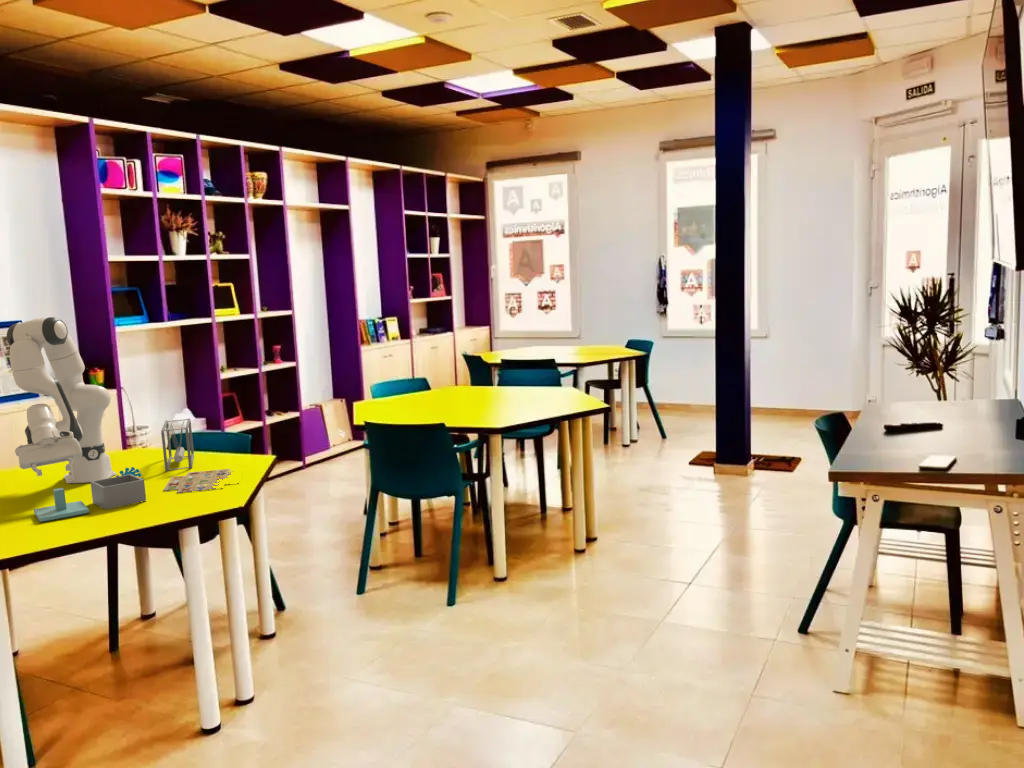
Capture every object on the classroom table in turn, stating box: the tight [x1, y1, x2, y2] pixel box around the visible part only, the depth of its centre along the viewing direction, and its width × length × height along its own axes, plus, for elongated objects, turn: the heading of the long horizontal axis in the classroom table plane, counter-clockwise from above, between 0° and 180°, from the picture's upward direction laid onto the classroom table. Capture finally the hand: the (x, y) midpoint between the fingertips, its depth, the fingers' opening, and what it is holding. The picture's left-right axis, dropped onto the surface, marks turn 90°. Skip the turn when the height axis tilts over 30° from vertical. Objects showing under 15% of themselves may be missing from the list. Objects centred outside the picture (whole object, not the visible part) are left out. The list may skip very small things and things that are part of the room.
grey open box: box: [90, 474, 147, 510], centre depth 306 cm, size 14×14×8 cm
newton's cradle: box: [160, 417, 195, 472], centre depth 367 cm, size 30×10×18 cm, turn 19°
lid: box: [33, 487, 90, 523], centre depth 293 cm, size 15×15×9 cm
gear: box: [115, 466, 144, 479], centre depth 329 cm, size 11×6×10 cm
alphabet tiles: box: [162, 468, 235, 494], centre depth 332 cm, size 28×33×1 cm
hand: (54, 472), depth 302 cm, fingers open, 8 cm apart
